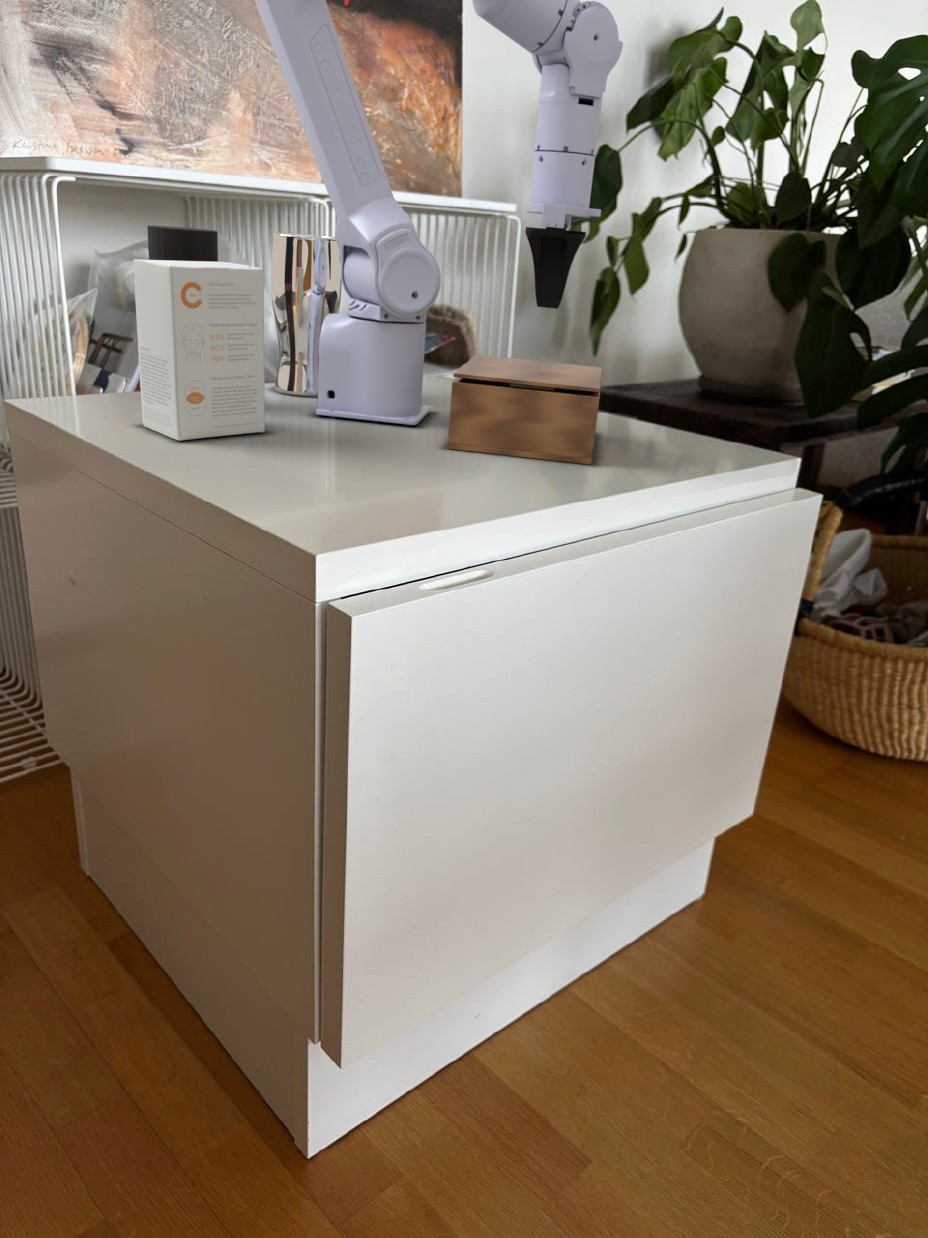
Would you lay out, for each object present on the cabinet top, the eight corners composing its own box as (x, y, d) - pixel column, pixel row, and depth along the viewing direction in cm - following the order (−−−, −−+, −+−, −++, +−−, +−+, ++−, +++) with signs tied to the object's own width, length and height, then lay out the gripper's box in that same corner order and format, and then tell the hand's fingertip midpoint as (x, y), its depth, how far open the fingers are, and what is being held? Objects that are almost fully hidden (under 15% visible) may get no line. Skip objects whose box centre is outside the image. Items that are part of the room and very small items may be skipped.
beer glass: (325, 400, 96) (329, 238, 90) (259, 392, 97) (259, 232, 92) (347, 389, 103) (352, 238, 97) (285, 382, 104) (286, 232, 98)
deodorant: (200, 392, 95) (196, 227, 89) (232, 404, 91) (230, 232, 85) (143, 396, 91) (135, 224, 85) (173, 408, 87) (167, 228, 81)
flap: (464, 368, 85) (464, 364, 84) (474, 357, 90) (474, 354, 90) (600, 382, 83) (600, 378, 83) (601, 370, 89) (601, 367, 89)
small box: (226, 418, 85) (224, 260, 80) (266, 433, 81) (266, 267, 76) (139, 425, 79) (130, 257, 74) (177, 442, 75) (170, 264, 70)
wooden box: (447, 448, 81) (452, 373, 78) (468, 420, 93) (473, 354, 90) (590, 464, 80) (600, 388, 77) (593, 433, 91) (602, 367, 89)
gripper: (607, 152, 83) (586, 317, 88) (608, 162, 96) (590, 305, 101) (525, 145, 83) (509, 309, 89) (537, 156, 97) (523, 299, 102)
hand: (547, 307), depth 95 cm, fingers closed
